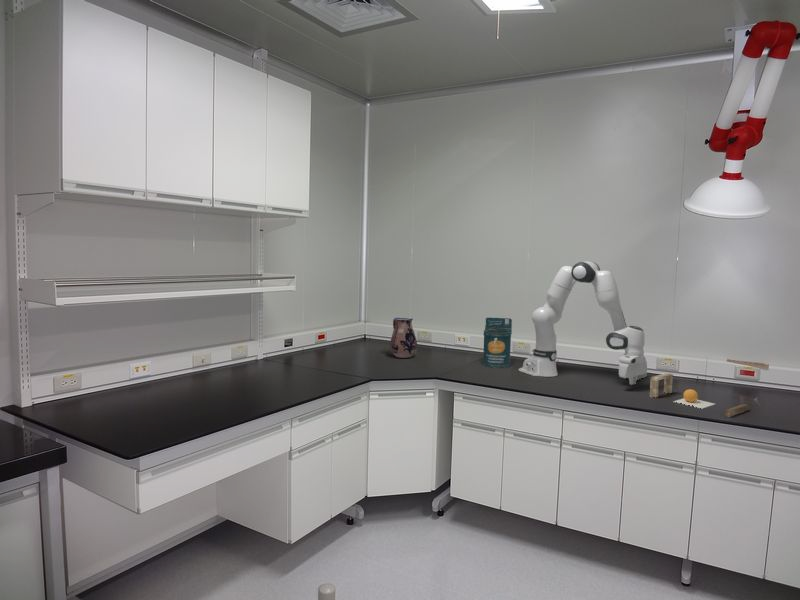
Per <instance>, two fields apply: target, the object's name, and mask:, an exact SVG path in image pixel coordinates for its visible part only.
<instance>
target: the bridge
mask: <svg viewBox="0 0 800 600" xmlns="http://www.w3.org/2000/svg"><path fill="white" fill-rule="evenodd" d="M673 379H674V374H672V373H667V372H666V373H662V374H658V375H653V376H650V382H649V383H650V384H649V397H650V398H653V397H655V398H654V399H657V397H658V398H659V383H660V382H659V381H661V380H664V384H663V393H664V392H665V393H664V394H667V393H669V394H668V395H671V394H670V393H672V394H673V381H674V380H673Z"/></svg>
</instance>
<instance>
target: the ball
mask: <svg viewBox="0 0 800 600" xmlns="http://www.w3.org/2000/svg"><path fill="white" fill-rule="evenodd" d="M682 395H683V398H684V399H685V400H686V401H688V402H695V401H696V400H698V398H699V394H698V392H697V391H696V390H694V389H686V390H685V391H684V392H683V394H682Z"/></svg>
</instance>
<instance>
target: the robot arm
mask: <svg viewBox="0 0 800 600" xmlns="http://www.w3.org/2000/svg"><path fill="white" fill-rule="evenodd" d="M553 278H554V279H552V282H551V284H550V286H549V287H548V290H547V292H546V298H545V302H544V304H543V306H540V307H537V308H536V309H535V310H534V311H532V312H533V313H532V315H531V320H532V323H533V324H534V330H535V348H534V349H532V350H531V352H532V355H531V356H529V357H528V358H526V359H524V361H523V364H522V367H520V368H518V371H519V372H521V373H524V374H527V375H529V376H532V377H547V378H548V377H557V376H558V370H557V369H558V368H557V353H558V352H557V335H556V333H555V324H558V322H559V321H560V320H561V318H562V315H563V310H564V307H565V305H566V302H567V300H568V298H569V295H570V294H571V292H572V289H573V288H574V285H575V284H576V283H577V282H578V283H585V284H586V283H589V284H591V285H592V286H593V289H594V294H595V297H596V300H597V303H598V305H599V306H600V308H602V309H604V310H606V311H607V312H608V314H609V316H610V319H611V322H612V327H613V331H612V332H609V333H608V334H607V335H606V337H605V343H606V345H607V347H608V348H610V349H612V350H614V351H615V350H616V351H617V350H624V353H623V355H621V356H620V357H619V359H618V362H619V365H618V376H619V378H623V379H626V378H629V379H628V381H629V385H631V386H632V385H633V386H634V385H636V384H637V378H638V375H642V374H646V372H648V362H647V360H646V357H645V352H644V346H645V340H646V339H645V338H646V337H645V331H644V329H643V328H642V327H639V326H636V325H628V326H627V323H626V319H625V317H624V312H623V310H622V305H621V301H620V300H621V299H620V296H619V290H618V286H617V283H616V280H615V277H614V275H613V273H612V272H611V271H610V270H601V268H600V266H599V264H597V263H596V262H595V261H590V260H589V261H587V260H585V261H579V262H577V263H575V264H574V265H572V266H570V265H564V266H562V267H561V268H560V269H559V270H558V272H557V273H556V275H555V276H554V277H553Z"/></svg>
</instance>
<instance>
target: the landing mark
mask: <svg viewBox="0 0 800 600" xmlns="http://www.w3.org/2000/svg"><path fill="white" fill-rule="evenodd" d="M672 402H673V403H676V402H677V403H676V404H680V403H682V404H681V405H684V404H685V405H684V406H688V405H690V406H689V407H692V405H693V406H694V408H696V407H697V409H700V408H701V409H700V410H702V409H706V408H710V407H712V406H715V405H716V403H714V402H709V401H705V400H700V399H697V400H696V401H695V402H688V401H686V400H685V399H684V397H683V398H681V399H680V398H679V399H677V400H673V401H672Z"/></svg>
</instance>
